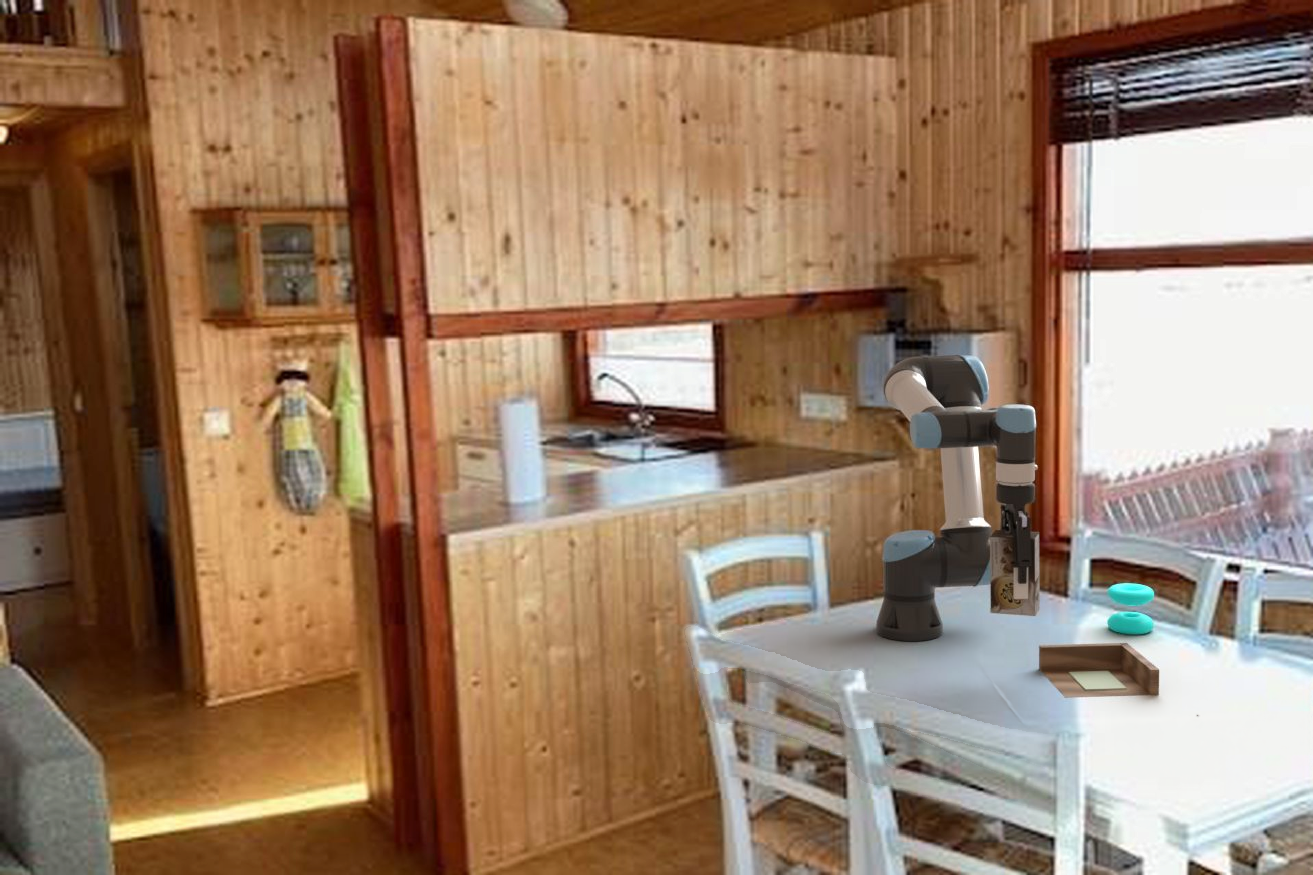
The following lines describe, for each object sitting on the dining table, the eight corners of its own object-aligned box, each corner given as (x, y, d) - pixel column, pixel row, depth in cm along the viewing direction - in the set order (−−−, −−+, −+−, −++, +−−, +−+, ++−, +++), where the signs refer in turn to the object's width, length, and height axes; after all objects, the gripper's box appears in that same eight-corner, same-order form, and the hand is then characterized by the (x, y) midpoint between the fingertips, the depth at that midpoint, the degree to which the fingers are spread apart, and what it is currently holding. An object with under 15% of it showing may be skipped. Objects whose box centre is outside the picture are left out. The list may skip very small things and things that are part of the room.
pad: (1068, 673, 265) (1068, 671, 265) (1107, 672, 265) (1107, 670, 265) (1085, 690, 254) (1085, 689, 254) (1126, 689, 254) (1126, 687, 254)
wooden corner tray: (1039, 672, 269) (1039, 645, 268) (1126, 669, 269) (1126, 642, 268) (1065, 701, 251) (1065, 672, 250) (1158, 698, 251) (1159, 669, 250)
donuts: (1162, 586, 295) (1140, 594, 289) (1162, 629, 297) (1139, 638, 290) (1122, 579, 303) (1099, 587, 296) (1121, 621, 304) (1098, 630, 298)
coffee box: (1040, 608, 264) (1041, 531, 262) (1035, 617, 259) (1036, 538, 256) (994, 605, 268) (995, 528, 266) (989, 613, 262) (989, 535, 260)
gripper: (1049, 491, 249) (1048, 606, 252) (1020, 472, 270) (1019, 579, 273) (1010, 492, 249) (1009, 607, 253) (984, 474, 270) (983, 580, 273)
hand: (1014, 592), depth 263 cm, fingers closed on coffee box, 8 cm apart
